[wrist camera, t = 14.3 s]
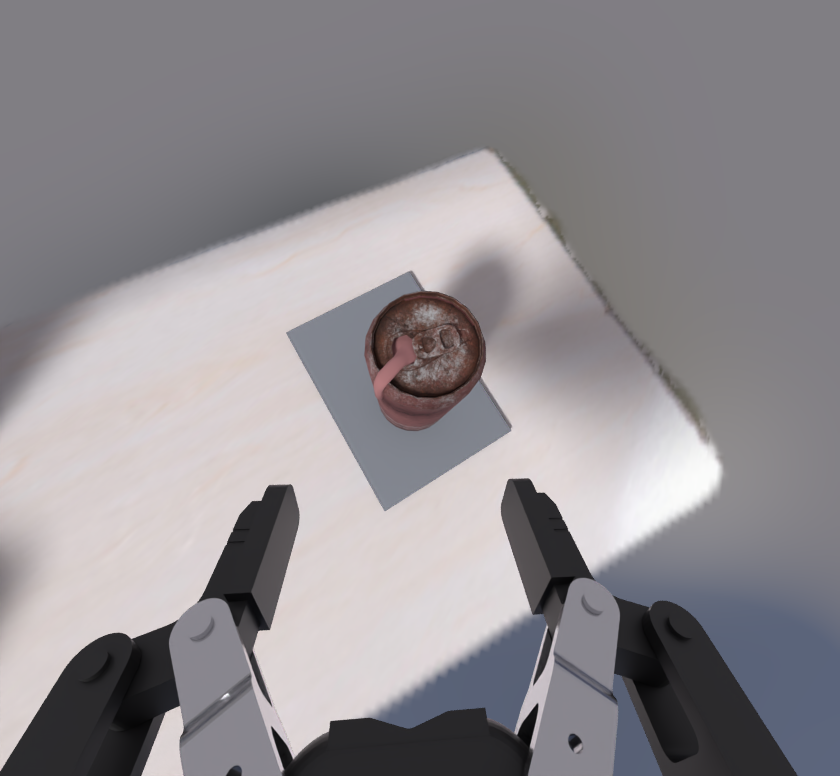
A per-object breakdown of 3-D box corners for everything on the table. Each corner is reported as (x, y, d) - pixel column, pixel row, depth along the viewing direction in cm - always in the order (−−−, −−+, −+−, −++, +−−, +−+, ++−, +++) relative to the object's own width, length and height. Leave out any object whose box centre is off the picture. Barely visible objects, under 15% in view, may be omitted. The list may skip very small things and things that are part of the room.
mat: (384, 510, 27) (384, 511, 26) (287, 334, 30) (286, 332, 29) (509, 431, 29) (511, 430, 29) (408, 274, 32) (409, 271, 31)
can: (362, 404, 28) (330, 353, 15) (407, 351, 30) (418, 260, 16) (415, 448, 28) (435, 438, 14) (459, 392, 29) (516, 335, 15)
